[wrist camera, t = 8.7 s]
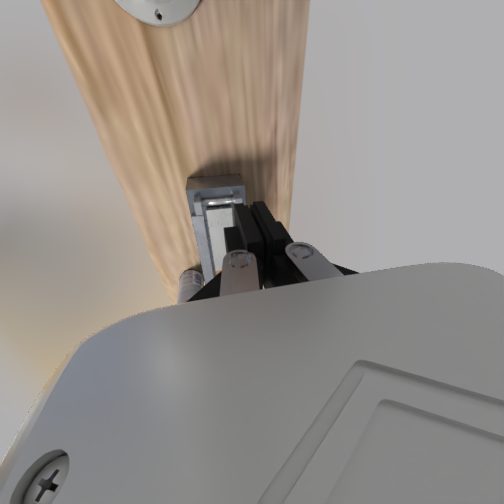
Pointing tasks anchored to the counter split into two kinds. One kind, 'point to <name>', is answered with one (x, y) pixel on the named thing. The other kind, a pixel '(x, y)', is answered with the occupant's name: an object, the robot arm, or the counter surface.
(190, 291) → the energy drink
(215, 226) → the grey bar
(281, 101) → the counter surface
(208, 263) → the grey piece
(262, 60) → the counter surface
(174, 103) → the counter surface
